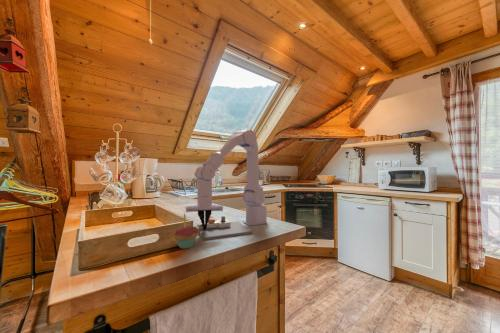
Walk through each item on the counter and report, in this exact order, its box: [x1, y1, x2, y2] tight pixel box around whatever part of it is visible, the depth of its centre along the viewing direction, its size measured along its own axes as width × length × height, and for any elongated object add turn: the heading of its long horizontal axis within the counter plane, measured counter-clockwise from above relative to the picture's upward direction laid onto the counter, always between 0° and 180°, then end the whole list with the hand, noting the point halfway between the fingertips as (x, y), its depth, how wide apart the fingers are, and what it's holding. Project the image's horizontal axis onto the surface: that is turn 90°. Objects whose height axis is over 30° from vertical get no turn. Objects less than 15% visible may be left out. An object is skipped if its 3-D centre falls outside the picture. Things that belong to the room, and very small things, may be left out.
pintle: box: [220, 215, 226, 222], centre depth 100 cm, size 2×2×4 cm
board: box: [194, 220, 254, 241], centre depth 97 cm, size 20×16×1 cm
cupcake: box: [174, 212, 199, 249], centre depth 80 cm, size 9×8×12 cm
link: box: [196, 218, 232, 230], centre depth 98 cm, size 14×5×2 cm, turn 114°
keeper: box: [208, 215, 216, 223], centre depth 99 cm, size 2×5×5 cm, turn 24°
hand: (204, 229), depth 93 cm, fingers closed
